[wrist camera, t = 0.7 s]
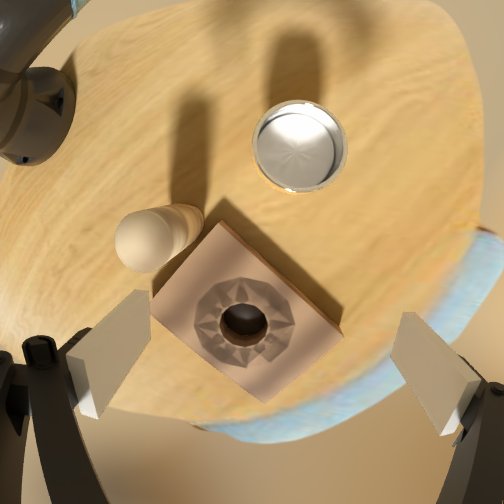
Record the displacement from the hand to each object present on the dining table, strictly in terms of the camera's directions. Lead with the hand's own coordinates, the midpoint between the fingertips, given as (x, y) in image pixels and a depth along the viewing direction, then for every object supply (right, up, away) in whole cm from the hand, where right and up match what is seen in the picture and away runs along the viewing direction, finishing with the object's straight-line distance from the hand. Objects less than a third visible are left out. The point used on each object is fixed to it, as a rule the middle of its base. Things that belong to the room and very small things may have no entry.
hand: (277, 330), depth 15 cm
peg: (-9, +7, +21) cm, 24 cm away
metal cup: (+3, +14, +20) cm, 24 cm away
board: (-2, -4, +24) cm, 24 cm away
